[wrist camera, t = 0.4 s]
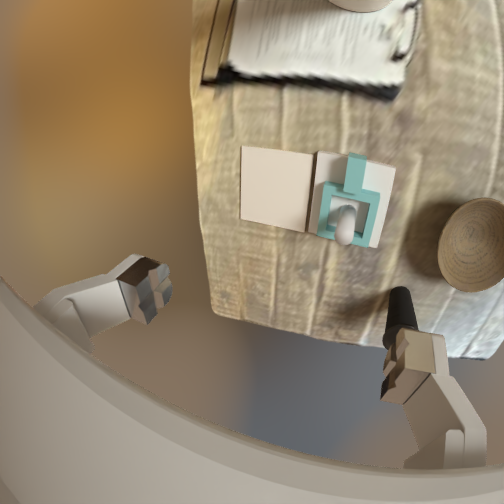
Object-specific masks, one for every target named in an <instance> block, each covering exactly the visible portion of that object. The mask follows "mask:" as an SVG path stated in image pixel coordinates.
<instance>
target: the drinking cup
mask: <svg viewBox="0 0 504 504" xmlns="http://www.w3.org/2000/svg"><path fill="white" fill-rule="evenodd" d="M401 328H407V329H412V330H417V331H419V330H418V325H417V321H416V316H415V312H414V307H413V303H412V299H411V295H410V291H409V290H408V289H407V288H406V287H402V286H400V287H396V288H394V289H393V290H392V291H391V293H390V299H389V307H388V315H387V322H386V328H385V334H384V335H383V340H382V341H383V345H384V347H385V348H386V349H387V350H389V348H390V346H391V345H392V344H394V343H396V336H397V334H398V332H399V330H400V329H401Z"/></svg>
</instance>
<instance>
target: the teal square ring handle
mask: <svg viewBox="0 0 504 504" xmlns="http://www.w3.org/2000/svg"><path fill="white" fill-rule="evenodd" d="M366 162H367V156H364V155H360V154H355V153H349V156H348V163H347V170H346V177H345V183H344V184H339V183H334V182H329V181H326V182H325V184H324V188H323V195H322V202H321V209H320V216H319V222H318V229H317V235H316V236H320V237H325V238H329V239H333V240H335V238H334V234H335V230H336V226H331V225H327V224H328V218H329V212H330V206H331V199H332V195H335V196H340V197H345V198H349V199H354V200H358V201H363V202H367V203H369V207H368V212H367V216H366V220H365V225H364V229H363V233H361V232H357V231H354V236H353V240H352V242H351V243H350V244H355V245H359V246H363V247H367V248H368V246H369V242H370V239H371V235H372V231H373V227H374V223H375V219H376V215H377V210H378V206H379V202H380V193H379V192H375V191H371V190H366V189H362V186H363V180H364V174H365V168H366Z"/></svg>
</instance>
